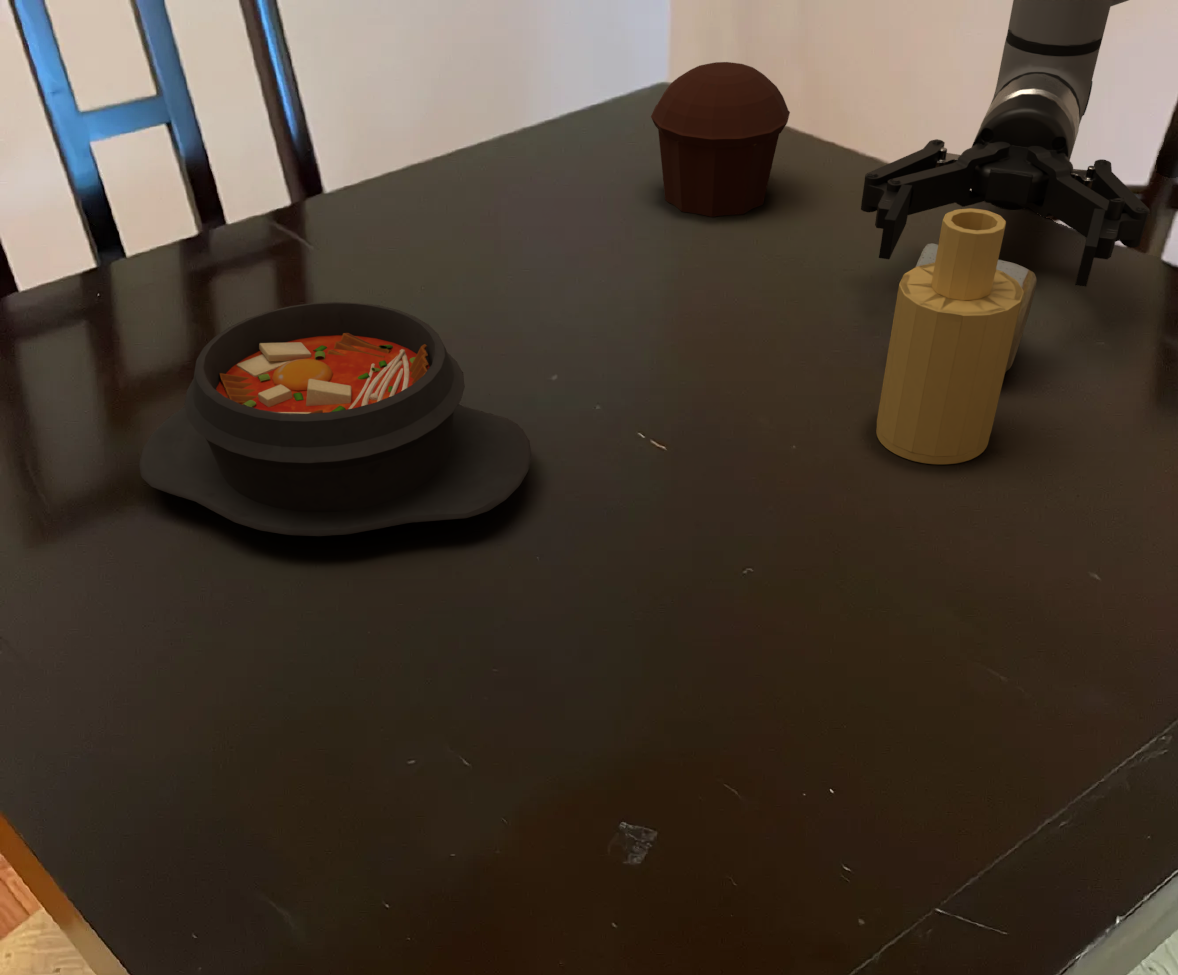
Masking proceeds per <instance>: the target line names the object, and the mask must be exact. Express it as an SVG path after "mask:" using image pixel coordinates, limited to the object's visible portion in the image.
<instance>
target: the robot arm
mask: <svg viewBox="0 0 1178 975" xmlns="http://www.w3.org/2000/svg"><path fill="white" fill-rule="evenodd" d="M1128 1H1129V0H1012V5H1011V9H1010V10H1011V12H1010V15H1009V16H1010V17H1009V22H1008V28H1007V33H1006V37H1005V41H1004V45H1003V49H1002V50H1003V51H1002V55H1001V60H1000V64H999V65H1000V66H999V71H998V77H997V80H996V85H995V90H994V93H993V97H992V100H991V102H990V104H989V106H988V109H987V111H986V112H985V115H984V117H983V119H982V122H981V123H980V126H979V129H978V131H977V133H976V136H975V138H974V140H973V142H972V144H971V146H970V147H969V148H967V149H965V150H964V151H963V152H962V153H961V154H957V153H951V152H948V148H947V147H945V143H946V142H945V141H943V140H941V139H937V138H936V139H932V140H929V141H928V142H927V143H926V144H925V146H924V147H923V148H921V149H919V150H917V151H914V152H912V153H910V154H907V155H906V156H903V157H901V158H899V159H897V160H894V161H892V162H890V163H887V164H885V165H883V166H880V167H878V168H876V169H874V170H871V171H869V172H867V173H865V176H864V182H863V190H862V195H861V204H860V210H861V211H862V212H864V213H874V212H876V215H875V221H874V227H875V228H876V229H882V233H881V239H880V246H879V254H878V259H882V260H883V259H884V260H890V259H891V256H892V254H893V252H894V251H895V249H896V246H897V244H898V242H899V240H900V238H901V236H902V233H903V231H904V229H905V228H906V225H907V221H908V216H911V215H914V214H918V213H922V212H925V211H929V210H933V209H936V208H941V207H943V206H944V207H945V206H947V205H951V204H956V205H959V206H960V207H963V208H965V207H969V206H971V205H972V206H973V205H975V204H980V203H983V202H984V203H986V204H991V205H992V206H994V207H996V208H998V209H1002V210H1008V211H1019V210H1020V211H1021V210H1025V209H1030V210H1032V211H1033V212H1034V213H1036V214H1038V215H1039V216H1041V217H1042V218H1047V217H1054V218H1056V219H1057V220H1059V221H1060V222H1062V223H1063V224H1065V225H1066V226H1068V227H1069V228H1071V229H1072V230H1074V231H1075V232H1076V233H1079V235H1081V236H1083V237H1084V238H1086V240H1085V243H1084V246H1083V251H1082V256H1081V260H1080V263H1079V267H1078V270H1077V274H1076V280H1075V283H1074V285H1075V286H1079V287H1085V288H1086V287H1087V286H1088V283H1089V282H1088V281H1089V278H1090V274H1091V270H1092V266H1093V264H1094V259H1101V260H1109V259H1110V258H1112V255H1113V251H1114V248H1115V245H1116V242H1120V243H1121V244H1122V245H1123V246H1125V247H1127V248H1138V247H1140V245H1141V243H1142V238H1143V235H1144V231H1145V228H1146V226H1147V222H1148V219H1149V218H1148V217H1149V216H1150V215H1149V214H1150V208H1149V207H1148V206H1147V205H1146V204H1145V203H1144V202H1143V201H1142V200H1141V199H1140V198H1139V197H1138V196H1137V195H1136V194H1135V193H1134V192H1133V191H1132V190H1131V189H1130V188H1129V187H1128V186H1127V185H1126V184H1125V183H1124V182H1123V181H1122V180H1121V179H1120V178H1119V176H1117V175H1116V174H1115V173H1114V172H1113V169H1112V168H1113V167H1112V163H1111V161H1110V160H1107V159H1096V160H1095V161H1094V163H1093V165H1089V166H1087V169H1080V168H1079V169H1078V168H1074V165H1073V163H1072V162H1071V158H1072V154H1073V150H1074V147H1075V145H1076V144H1075V143H1076V141H1077V138H1078V135H1079V131H1080V125H1081V121H1082V119H1083V117H1084V116H1085V115H1086V112H1087V108H1088V105H1089V102H1090V97H1091V94H1092V88H1093V82H1094V81H1093V77H1094V73H1095V69H1096V66H1097V61H1098V58H1099V55H1100V54H1099V53H1100V49H1101V46H1102V42H1103V38H1104V33H1105V30H1106V26H1107V22H1108V19H1109V15H1110V14H1109V13H1110V10H1111V7H1114V6H1117V5H1119V4H1122V3H1126V2H1128Z"/></svg>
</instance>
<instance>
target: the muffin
mask: <svg viewBox="0 0 1178 975" xmlns="http://www.w3.org/2000/svg"><path fill="white" fill-rule="evenodd" d="M790 113H791V112H790V111H789V108H788V106H787V103H786V100H785V97H784V96H783V94H782V93H781V91H780V90H779V88H778V86H777V85H776V84H775V83H773V81H772V80H771V79H769V77H767V76H766V75H765V74H764V73H762V72H761V71H759V70H758V69H757V68H755V67H753V66H750V65H748V64H744V63H739V62H732V61H731V62H730V61H719V62H717V61H716V62H710V63H705V64H701V65H697V66H696V67H693V68H691V69H689V70H688V71H686V72H684V73H683V74H681V75H680V76H678V77H676V78H675V79H674V80H673V81H672V82H670V84H669V85H668V87H667V88H666V89H665V91H664V92H663V94H662V95H661V97H660V99H659V100H658V102H657V104H656V105H655V106H654V109H653V110H652V113H651V115H650V119H651V120H652V122H653V124H654V127H656V128H657V130H658V139H659V141H658V142H659V150H660V161H661V170H662V171H661V172H662V181H663V191H664V192H663V193H664V200H665V201H666V202H667V203H669V204H671V205H673V206H674V207H676V208H677V209H678V210H679V211H681V212H684V213H689V214H690V213H691V214H697V215H701V216H705V217H711V218H714V217H722V216H734V215H736V216H737V215H745V214H746V213H748V212H749V211H751V210H753V209H755V208H758V207H761V206H763V205H764V201H765V198H766V192H767V189H768V186H769V185H768V184H769V180H770V175H771V171H772V168H773V162H774V158H775V153H776V149H777V145H778V142H779V136H780V134H781V133H782V132H783V130H784V129H785V127H786V126H787V125H788V121H789V118H790Z"/></svg>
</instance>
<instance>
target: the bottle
mask: <svg viewBox="0 0 1178 975" xmlns="http://www.w3.org/2000/svg"><path fill="white" fill-rule="evenodd" d="M1006 226H1007V221H1006V220H1005V219H1004V218H1003V216H1002V215H1000V214H999V213H998V214H997V213H995V212H993V211H990V210H986V209H980V208H958V209H954V210H951V211H948V212H946V213H945V215H944V216H943V218H942V222H941V227H940V232H939V238H938V239H939V240H938V244H937V245H938V249H937V255H936V260H935V263H930V264H926V265H921V266H917V267H916V266H915V267H914V268H912V269H911V270H908V271H907V272H905V273H903V275H902V277H901V279H900V281H899V284H898V289H897V295H896V301H895V307H894V314H893V320H892V325H891V331H890V338H889V344H888V350H887V356H886V362H885V370H884V375H883V381H882V386H881V391H880V392H881V393H880V398H879V405H878V411H877V417H876V428H875V429H876V430H875V431H876V437H877V439H878V441H879V442H880V443H881V446H883V447H884V448H885V449H886V450H887V451H890V452H891V453H893V455H896V456H898V457H901V458H903V459H906V460H909V461H912V462H916V463H921V464H928V465H954V464H955V465H956V464H960V463H964V462H968V461H971V460H973V459H975V458H977V457H978V456H980V455H981V454H982V453H984V452H985V450H986V449H987V447H988V446H989V441H990V437H991V433H992V431H993V427H994V422H995V417H996V412H997V408H998V404H999V400H1000V396H1001V391H1002V387H1003V383H1004V379H1005V374H1006V372H1005V370H1006V366H1007V362H1008V358H1009V353H1010V349H1011V345H1012V340H1013V336H1014V332H1015V328H1016V323H1017V319H1018V315H1019V310H1020V306H1021V302H1022V298H1023V293H1024V291H1023V289H1022V288H1021V286H1020V284H1019V283H1018V281H1017V280H1015V279H1014V278H1012V277H1011V276H1009V275H1008V274H1006V273H1004V272H1002V271H1000V270H997V269H996V267H997V263H998V260H999V258H1000V254H1001V253H1000V252H1001V249H1002V244H1003V238H1004V235H1005V230H1006Z"/></svg>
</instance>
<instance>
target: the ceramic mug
mask: <svg viewBox="0 0 1178 975" xmlns="http://www.w3.org/2000/svg"><path fill="white" fill-rule="evenodd" d="M937 249H938V244H937V243H931V242H930V243H927V244H926V245H925V246H924V248H923V249H922V251H921V254H920V256H919V258H918V260H917V263H916V265H915V267H917V266H921V265H926V264H930V263H935V260H936V255H937ZM996 269H997V270H1000V271H1002V272H1004V273H1006V274H1008V275H1009V276H1011V277H1012V278H1014V279H1015V280H1017V281H1018V283H1019V284H1020V286H1021V288H1022V289H1023V291H1024V293H1023V298H1022V302H1021V306H1020V310H1019V315H1018V319H1017V323H1016V328H1015V332H1014V336H1013V340H1012V345H1011V349H1010V353H1009V358H1008V362H1007V366H1006V370H1005V373H1006V372H1007V371H1009V370H1010V369H1011V368H1012V366H1013V364H1014V361H1015V358H1016V355H1017V352H1018V350H1019V346H1020V344H1021V341H1022V337H1023V334H1024V331H1025V327H1026V324H1027V320H1028V317H1029V314H1030V310H1031V307H1032V304H1033V300H1034V296H1035V291H1036V288H1037V282H1038V279H1037V276H1036V274H1035V272H1033V271H1032V270H1030V269H1028V268H1026V267H1024V266H1022V265H1021V264H1020V265H1019V264H1017V263H1014V262H1010V261H1006V260H1002V259H998V263H997V267H996Z"/></svg>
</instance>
